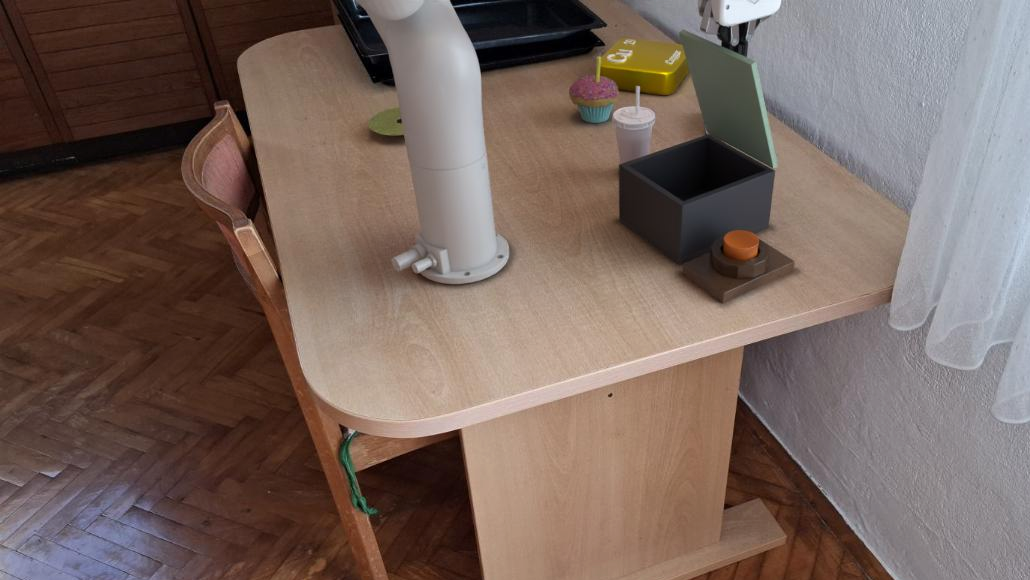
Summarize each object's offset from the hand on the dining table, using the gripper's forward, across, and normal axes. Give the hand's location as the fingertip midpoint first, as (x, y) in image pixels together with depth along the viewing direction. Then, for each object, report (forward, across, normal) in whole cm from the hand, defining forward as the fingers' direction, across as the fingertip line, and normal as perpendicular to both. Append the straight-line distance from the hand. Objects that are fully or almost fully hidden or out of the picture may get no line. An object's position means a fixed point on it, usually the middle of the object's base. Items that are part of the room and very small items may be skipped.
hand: (732, 71), depth 109 cm
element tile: (+21, +21, +47) cm, 55 cm away
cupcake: (+21, +4, +38) cm, 43 cm away
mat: (+21, -25, +53) cm, 62 cm away
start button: (+18, -8, -13) cm, 23 cm away
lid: (+4, -1, 0) cm, 4 cm away
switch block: (+21, -8, -13) cm, 26 cm away
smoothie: (+21, -3, +17) cm, 27 cm away
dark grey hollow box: (+21, -5, 0) cm, 22 cm away
